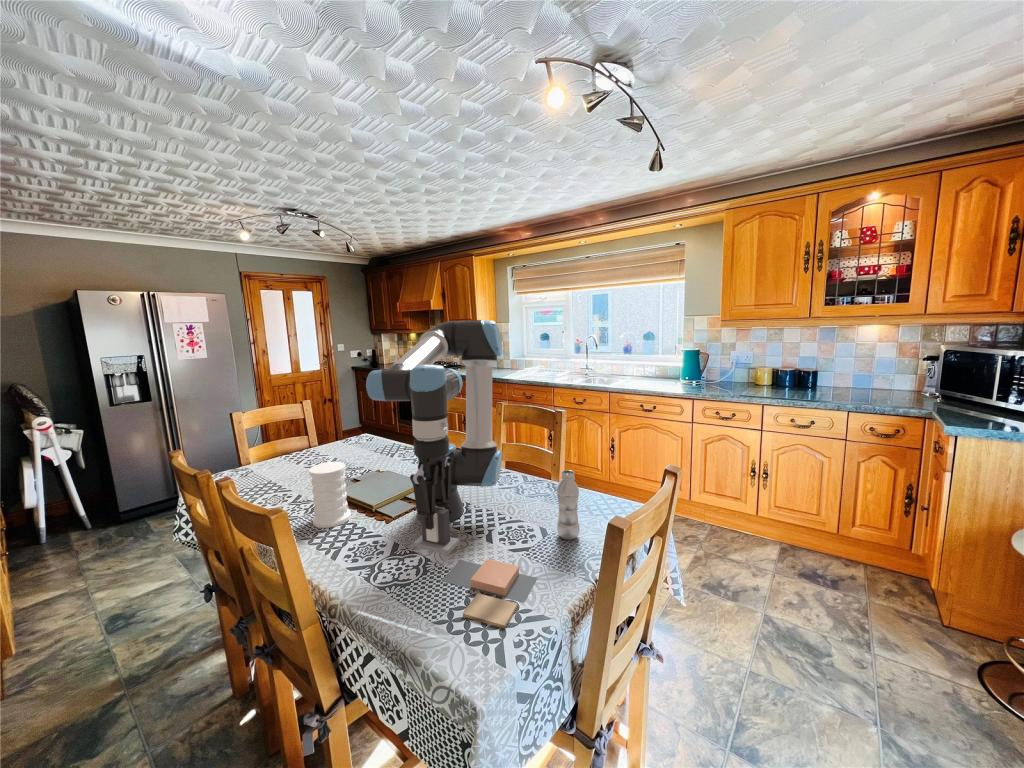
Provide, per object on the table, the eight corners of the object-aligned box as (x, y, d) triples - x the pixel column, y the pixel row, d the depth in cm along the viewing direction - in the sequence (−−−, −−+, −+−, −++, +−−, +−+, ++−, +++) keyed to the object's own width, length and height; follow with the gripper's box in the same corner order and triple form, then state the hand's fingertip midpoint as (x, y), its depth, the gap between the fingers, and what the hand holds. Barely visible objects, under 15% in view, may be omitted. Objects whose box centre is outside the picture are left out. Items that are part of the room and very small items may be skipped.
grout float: (413, 546, 90) (411, 511, 89) (426, 535, 95) (424, 501, 94) (447, 554, 87) (445, 518, 86) (459, 543, 91) (457, 508, 90)
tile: (470, 579, 96) (504, 588, 92) (486, 558, 104) (519, 566, 101) (470, 587, 96) (505, 596, 93) (487, 566, 104) (519, 574, 101)
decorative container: (338, 508, 141) (334, 459, 138) (358, 516, 134) (353, 465, 132) (306, 521, 132) (300, 469, 129) (325, 531, 125) (319, 476, 122)
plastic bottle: (574, 544, 115) (574, 478, 112) (553, 538, 118) (552, 473, 115) (583, 534, 120) (583, 470, 117) (562, 529, 124) (562, 466, 120)
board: (462, 618, 87) (462, 613, 87) (477, 597, 93) (477, 593, 93) (505, 630, 83) (505, 625, 83) (517, 608, 90) (517, 603, 89)
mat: (441, 582, 99) (440, 580, 99) (460, 561, 108) (460, 559, 108) (524, 604, 91) (524, 602, 91) (537, 579, 99) (537, 577, 99)
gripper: (424, 448, 79) (430, 559, 82) (463, 429, 93) (467, 524, 96) (394, 444, 82) (401, 551, 85) (436, 426, 96) (440, 519, 99)
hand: (436, 537), depth 91 cm, fingers closed on grout float, 2 cm apart
